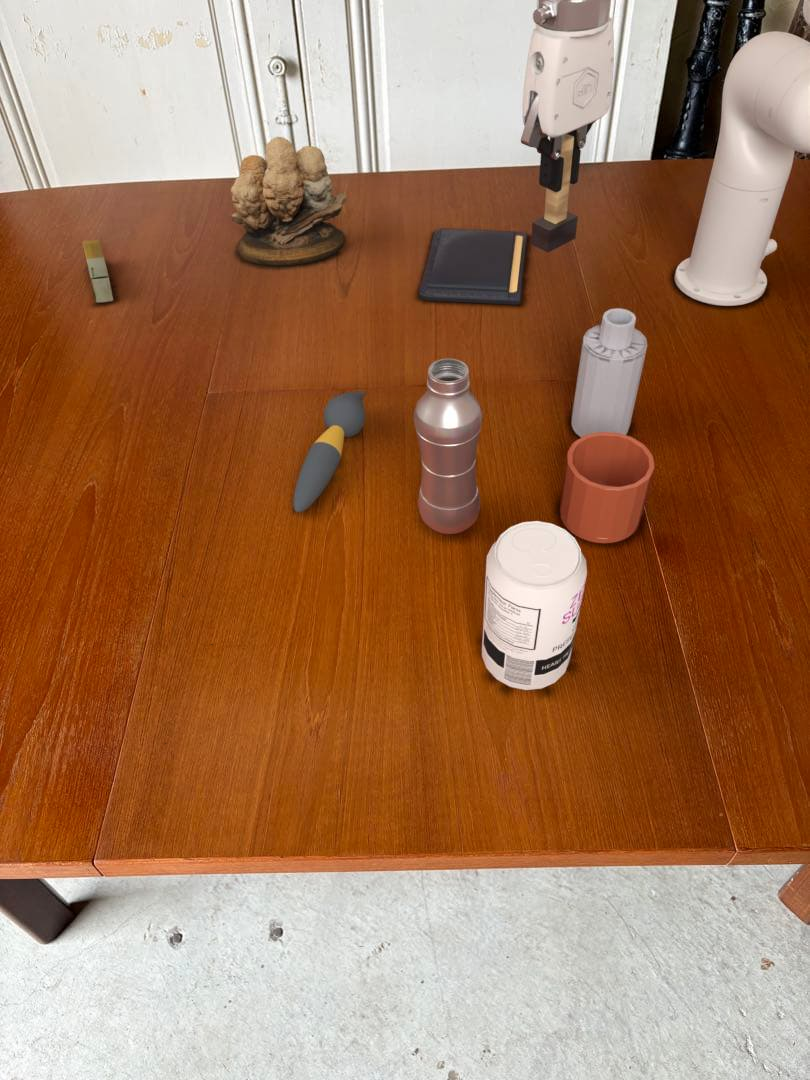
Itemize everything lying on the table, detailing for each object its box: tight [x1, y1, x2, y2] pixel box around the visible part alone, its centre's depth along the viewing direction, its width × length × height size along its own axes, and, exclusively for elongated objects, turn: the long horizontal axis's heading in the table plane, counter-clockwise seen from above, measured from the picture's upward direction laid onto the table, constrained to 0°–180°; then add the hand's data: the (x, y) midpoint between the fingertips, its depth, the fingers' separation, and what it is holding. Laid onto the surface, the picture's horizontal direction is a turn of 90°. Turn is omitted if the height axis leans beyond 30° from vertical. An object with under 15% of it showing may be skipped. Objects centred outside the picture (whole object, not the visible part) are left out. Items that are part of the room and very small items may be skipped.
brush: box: [530, 134, 579, 253], centre depth 99 cm, size 5×3×13 cm, turn 129°
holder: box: [559, 432, 655, 544], centre depth 85 cm, size 9×9×8 cm
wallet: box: [418, 227, 528, 306], centre depth 122 cm, size 20×2×15 cm
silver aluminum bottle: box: [413, 358, 483, 535], centre depth 81 cm, size 6×7×20 cm
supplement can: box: [481, 520, 588, 691], centre depth 71 cm, size 8×8×15 cm
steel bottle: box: [571, 307, 648, 438], centre depth 92 cm, size 7×7×15 cm
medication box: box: [82, 239, 114, 304], centre depth 123 cm, size 12×3×4 cm, turn 21°
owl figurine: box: [230, 136, 348, 267], centre depth 123 cm, size 18×12×17 cm, turn 96°
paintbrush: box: [292, 391, 367, 514], centre depth 94 cm, size 20×5×5 cm, turn 167°
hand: (558, 182), depth 98 cm, fingers closed on brush, 2 cm apart
